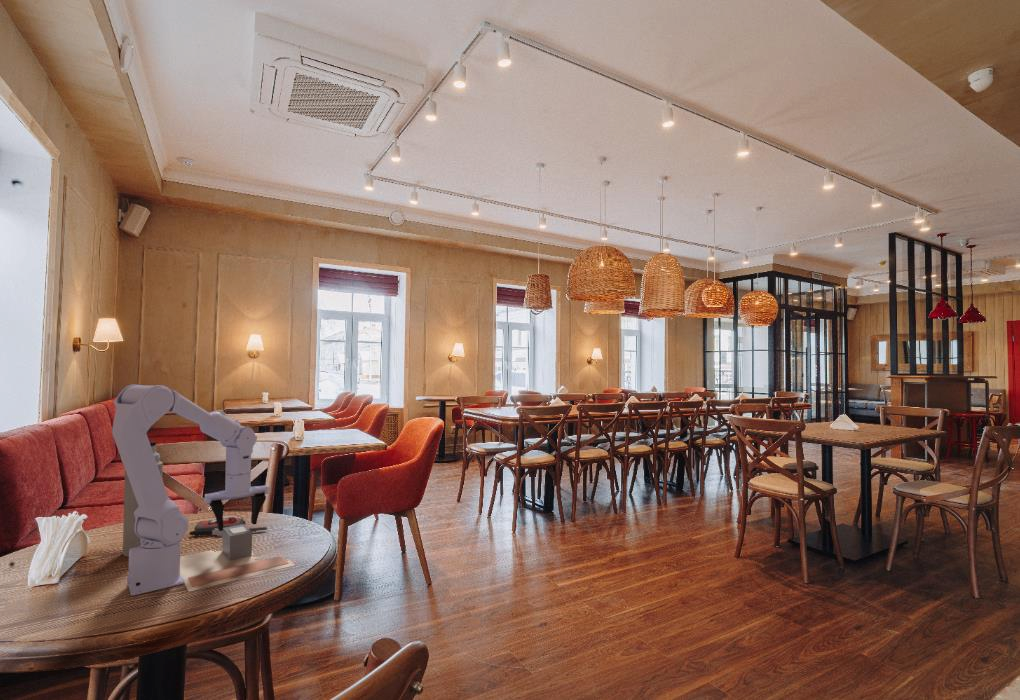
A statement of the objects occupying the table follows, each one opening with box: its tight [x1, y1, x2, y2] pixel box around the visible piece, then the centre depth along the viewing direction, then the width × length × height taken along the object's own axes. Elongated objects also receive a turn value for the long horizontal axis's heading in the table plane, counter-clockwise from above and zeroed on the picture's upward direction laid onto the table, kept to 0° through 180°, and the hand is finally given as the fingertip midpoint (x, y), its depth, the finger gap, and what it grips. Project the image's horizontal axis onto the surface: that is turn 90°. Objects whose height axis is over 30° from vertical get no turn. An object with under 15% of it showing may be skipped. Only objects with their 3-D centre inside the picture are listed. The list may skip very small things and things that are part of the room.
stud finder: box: [221, 524, 253, 561], centre depth 129 cm, size 5×8×6 cm, turn 41°
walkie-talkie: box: [189, 514, 268, 537], centre depth 146 cm, size 9×4×20 cm
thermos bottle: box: [122, 440, 164, 558], centre depth 131 cm, size 8×8×28 cm
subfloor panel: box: [180, 549, 296, 593], centre depth 124 cm, size 22×24×1 cm
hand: (237, 526), depth 129 cm, fingers open, 7 cm apart
